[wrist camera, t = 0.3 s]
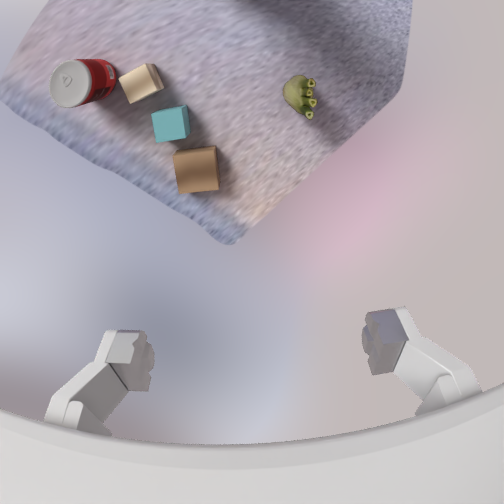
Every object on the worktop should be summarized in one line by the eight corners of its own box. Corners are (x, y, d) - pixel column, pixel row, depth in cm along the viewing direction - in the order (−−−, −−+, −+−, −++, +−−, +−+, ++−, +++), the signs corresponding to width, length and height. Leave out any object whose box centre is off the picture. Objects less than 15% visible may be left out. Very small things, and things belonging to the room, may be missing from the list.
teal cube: (159, 109, 47) (151, 113, 43) (186, 104, 47) (181, 108, 43) (163, 136, 50) (156, 142, 46) (190, 132, 50) (185, 138, 46)
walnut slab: (177, 150, 52) (172, 156, 48) (215, 145, 52) (213, 150, 48) (183, 185, 56) (179, 193, 52) (220, 181, 55) (218, 189, 52)
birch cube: (129, 77, 43) (118, 78, 39) (154, 64, 43) (145, 63, 38) (139, 100, 46) (130, 103, 42) (164, 88, 45) (156, 90, 41)
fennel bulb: (299, 112, 48) (315, 124, 38) (274, 99, 47) (283, 106, 37) (316, 85, 46) (336, 89, 36) (291, 71, 44) (304, 70, 34)
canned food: (91, 53, 40) (60, 53, 31) (125, 69, 42) (98, 70, 33) (74, 89, 43) (41, 97, 34) (106, 106, 46) (77, 116, 37)
